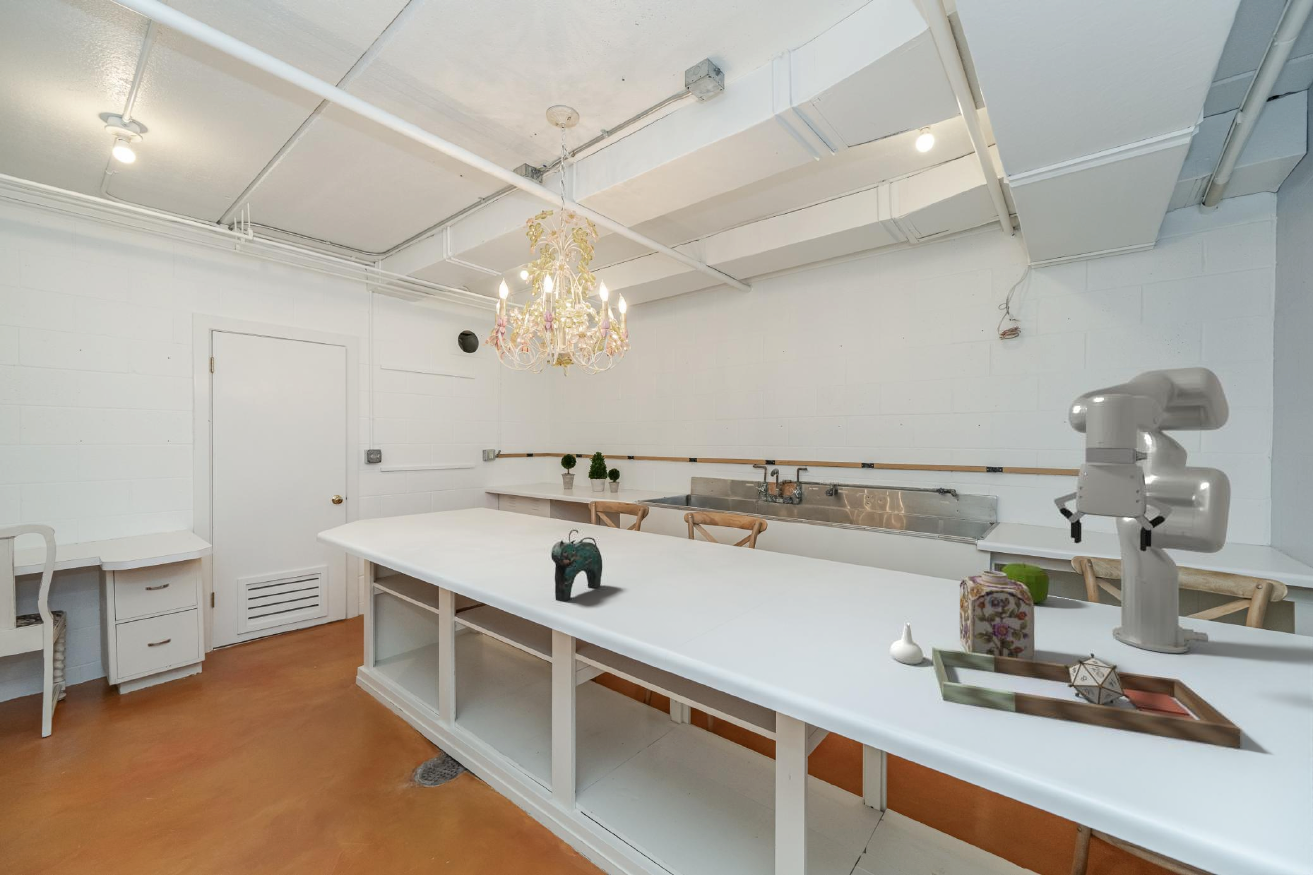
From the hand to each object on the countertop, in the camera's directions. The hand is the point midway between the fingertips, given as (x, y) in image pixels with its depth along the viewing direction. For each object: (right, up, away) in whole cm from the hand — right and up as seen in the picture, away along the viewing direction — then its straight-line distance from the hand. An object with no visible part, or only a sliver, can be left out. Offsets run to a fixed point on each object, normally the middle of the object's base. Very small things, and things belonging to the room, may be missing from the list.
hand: (1109, 546), depth 101 cm
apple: (+17, -26, +48) cm, 57 cm away
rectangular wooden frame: (-14, -26, -6) cm, 31 cm away
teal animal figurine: (-112, -27, +58) cm, 129 cm away
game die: (-9, -27, -8) cm, 29 cm away
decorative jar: (-14, -27, +12) cm, 32 cm away
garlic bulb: (-34, -27, +11) cm, 45 cm away
